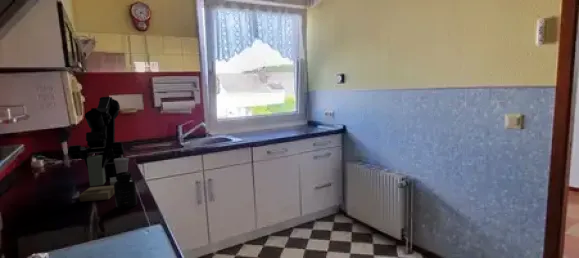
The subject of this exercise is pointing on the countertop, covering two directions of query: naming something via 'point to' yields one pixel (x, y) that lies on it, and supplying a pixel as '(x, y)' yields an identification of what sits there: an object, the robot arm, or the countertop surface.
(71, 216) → the countertop surface
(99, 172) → the sage block
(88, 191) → the oak block
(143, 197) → the countertop surface
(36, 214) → the countertop surface
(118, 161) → the smoothie
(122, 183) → the supplement bottle
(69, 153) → the robot arm
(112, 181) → the grey tile block
